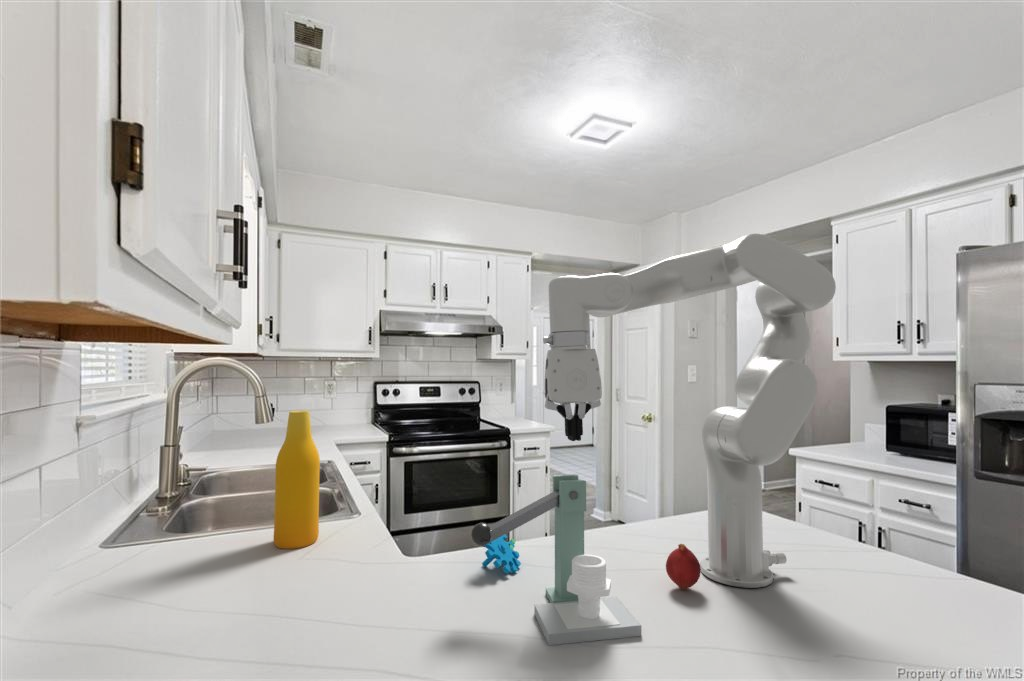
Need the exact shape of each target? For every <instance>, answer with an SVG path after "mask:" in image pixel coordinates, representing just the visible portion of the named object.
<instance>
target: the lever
mask: <svg viewBox="0 0 1024 681" xmlns="http://www.w3.org/2000/svg"><path fill="white" fill-rule="evenodd" d="M558 505H559V489H558V490H556V491H554V492H553V491H552V492H551V493H549V494H547V495H545V496H543V497H541V498H539V499H537V500H536V501H534V502H532V503H530V504H528V505H526V506H524V507H522V508H520V509H519V510H517V511H515V512H512V514H510V515H507V516H505V517H504V518H502V519H500V520H498V521H496V522H495V523H492V524H491V525H489V524H488V523H486V522H479V523H476V524H475V525H474V526H473V527H472V529H471V531H470V539H471V541H472V542H473V543H474V544H475V546H478V547H483V546H485V545H487V544H488V543H490V542H492V541H494V540H496V539H497V538H499V537H501V536H503V535H505V534H506V535H507V534H509V533H510V532H512V531H515V530H516V529H518V528H519V527H522V526H523V525H525V524H526V523H528V522H531V521H533V520H534V519H536V518H538V517H540V516H541V515H543V514H545V513H547V512H549V511H551V510H553V509H555V507H556V506H558ZM483 548H484V547H483Z"/></svg>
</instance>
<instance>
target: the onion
mask: <svg viewBox="0 0 1024 681" xmlns="http://www.w3.org/2000/svg"><path fill="white" fill-rule="evenodd" d="M677 546H678V547H677V548H675V549H674V550H672V551H671V552H670V553H669V555H668V556H667V559H666V563H665V571H666V574H667V576H668V578H669V579H670V580H671V581H672V582H673V583H674V584H675V585H676V586H677V587H678V588H679V589H680V590H682V591H685V590H688V589H690V588H692V587H693V586H694V585H695V584H697V583H698V581H699V579H700V576H701V573H702V572H701V568H700V561H699V560H698V557H696V555H695V554H694V552H692V550H690V549H688V547H687V546H686V545H685V544H684V543H679V544H677Z"/></svg>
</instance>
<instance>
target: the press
mask: <svg viewBox="0 0 1024 681" xmlns="http://www.w3.org/2000/svg"><path fill="white" fill-rule="evenodd" d="M558 489H559V505H558V506H556V507H554V586H553V587H545V596H546V597H547V599H548V601H549V602H548V603H547V602H545V603H539V604H536V603H535V604H534V605H533V606H534V610H533V611H534V616H535V618H536V620H537V622H538V625H539V627H540V629H541V632H542V633H543V635H544V638H545V641H546V642H547V645H548V646H555V645H556V646H557V645H564V644H574V643H584V642H594V641H603V640H604V641H605V640H613V639H623V638H633V637H642V624H641V623H640V621H638V620H637V618H636V617H635V616H634V614H632V612H631V611H630V610H629V609H628V607H627V606H626V605H625V604H624V603H623V602H622V601H621V599H619V597H618V596H616V597H608V598H605V597H604V598H600V615H599V617H598V618H596V619H586V618H583V617H581V616H580V615H579V608H578V604H579V600H578V595H576V594H573V593H571V592H568V591H567V582H568V580H569V577H570V575H572V559H573V558H574V557H576V556H578V555H585V512H587V480H585V479H579V474H556V475H554V474H553V475H552V492H554V491H556V490H558Z"/></svg>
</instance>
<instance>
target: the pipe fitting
mask: <svg viewBox="0 0 1024 681" xmlns="http://www.w3.org/2000/svg"><path fill="white" fill-rule="evenodd" d="M611 585H612V580H611V578H608V577H607V561H606V560H605V558H603V557H601V556H599V555H594V554H584V555H578V556H576V557H574V558H573V559H572V575H570V577H569V580H568V582H567V591H568V592H571V593H573V594H576V595H578V600H579V604H578V608H579V615H580V616H581V617H583V618H586V619H596V618H598V617H599V615H600V599H601V597H609V596H610V593H611V587H612V586H611Z"/></svg>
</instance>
